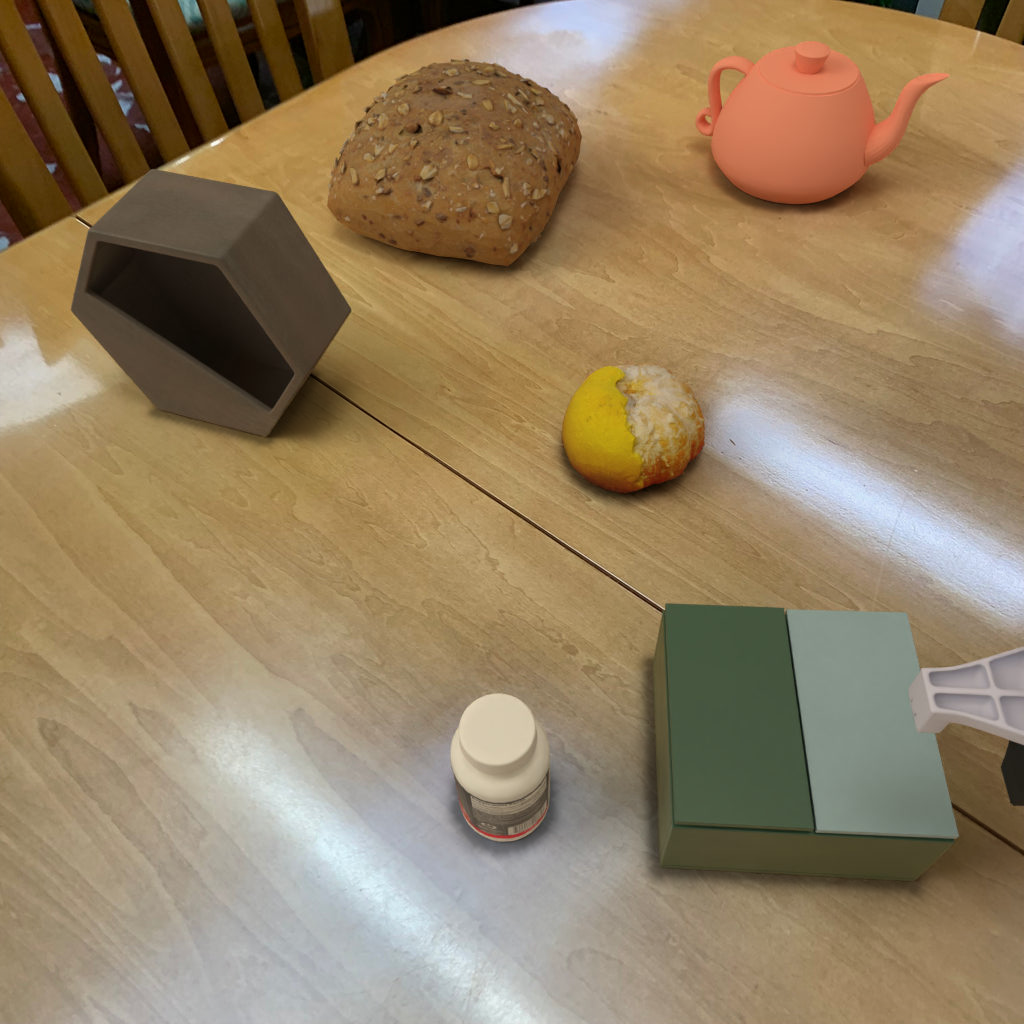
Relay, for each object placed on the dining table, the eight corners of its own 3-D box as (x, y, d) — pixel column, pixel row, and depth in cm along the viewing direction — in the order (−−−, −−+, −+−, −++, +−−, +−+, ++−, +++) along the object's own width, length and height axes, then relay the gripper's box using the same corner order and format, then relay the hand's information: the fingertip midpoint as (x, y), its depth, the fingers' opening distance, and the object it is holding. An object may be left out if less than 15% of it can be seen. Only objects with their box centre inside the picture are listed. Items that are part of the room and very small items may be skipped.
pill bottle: (461, 755, 56) (448, 680, 49) (549, 755, 56) (550, 679, 49) (457, 844, 53) (442, 779, 45) (550, 844, 53) (551, 778, 45)
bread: (526, 294, 83) (523, 173, 74) (315, 249, 88) (287, 131, 79) (603, 151, 97) (609, 34, 87) (417, 120, 102) (404, 6, 92)
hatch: (905, 615, 54) (907, 611, 53) (956, 839, 46) (959, 836, 45) (784, 612, 54) (786, 608, 54) (815, 832, 46) (816, 830, 46)
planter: (61, 348, 73) (99, 175, 57) (117, 288, 78) (167, 112, 61) (248, 466, 77) (332, 336, 61) (291, 403, 82) (380, 266, 66)
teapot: (922, 158, 94) (966, 33, 85) (887, 243, 86) (931, 116, 76) (716, 113, 101) (734, -7, 91) (665, 188, 93) (678, 64, 83)
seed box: (873, 671, 59) (908, 611, 53) (914, 881, 51) (961, 837, 45) (652, 662, 60) (664, 602, 54) (659, 867, 52) (674, 822, 46)
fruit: (692, 518, 66) (670, 441, 61) (559, 509, 71) (528, 436, 66) (724, 409, 73) (708, 330, 67) (601, 407, 77) (575, 333, 72)
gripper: (1334, 556, 35) (1149, 714, 46) (941, 543, 36) (850, 701, 47) (1437, 730, 31) (1206, 859, 41) (987, 710, 32) (875, 842, 42)
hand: (1020, 785), depth 44 cm, fingers closed
